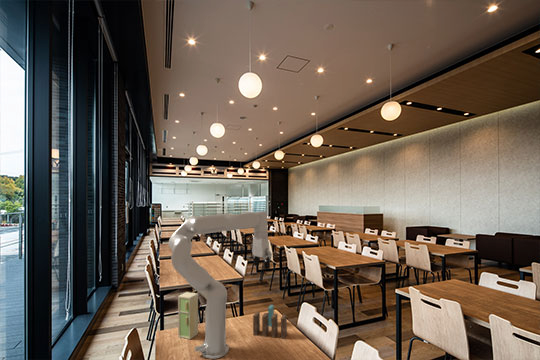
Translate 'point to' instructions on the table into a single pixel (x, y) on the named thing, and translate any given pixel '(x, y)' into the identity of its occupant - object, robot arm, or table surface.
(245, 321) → the table surface
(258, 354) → the table surface
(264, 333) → the domino
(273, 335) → the domino
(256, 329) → the domino
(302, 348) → the table surface
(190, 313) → the toy refrigerator
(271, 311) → the domino
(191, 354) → the table surface
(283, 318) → the domino
